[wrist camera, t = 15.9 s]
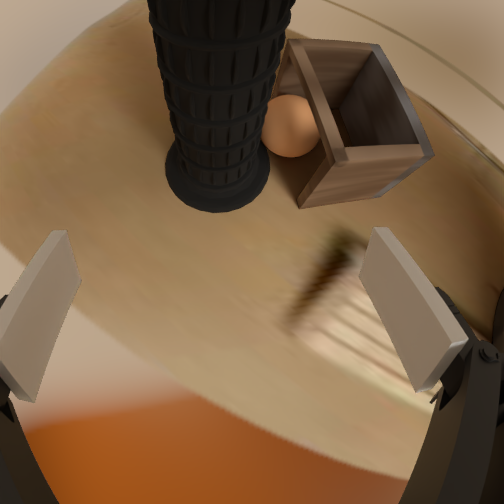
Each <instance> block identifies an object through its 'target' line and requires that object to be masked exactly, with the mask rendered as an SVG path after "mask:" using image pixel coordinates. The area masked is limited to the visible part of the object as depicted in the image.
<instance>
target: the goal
mask: <svg viewBox="0 0 504 504" xmlns="http://www.w3.org/2000/svg"><path fill="white" fill-rule="evenodd" d="M282 95H297V96H300V97H303V98H305V99H307V101H308V104H309V106H310V109H311V112H312V114H313V117H314V120H315V123H316V126H317V128H318V131H319V134H320V137H321V140H322V143H323V146H324V149H325V152H326V155H327V156H326V157H325V158H324V160H323V161H322V163H321V164H320V166H319V167H318V169H317V170H316V172H315V173H314V175H313V176H312V178H311V179H310V180H309V182H308V183H307V185H306V186H305V188H304V189H303V191H302V192H301V194H300V195H299V197H298V198H297V202H298V206H299V209H303V208H310V207H316V206H322V205H329V204H335V203H342V202H349V201H356V200H362V199H369V198H377V197H381V196H382V195H383V194H385V193H386V192H387V191H389V190H390V189H391V188H393V187H394V186H395V185H397V184H398V183H399V182H401V181H402V180H403V179H405V178H406V177H407V176H409V175H410V174H411V173H412V172H414V171H415V170H416V169H418V168H419V167H420V166H422V165H423V164H424V163H426V162H427V161H428V160H429V159H431V158H432V157H433V156H435V154H434V152H433V149H432V147H431V145H430V142H429V140H428V137H427V135H426V133H425V131H424V128H423V126H422V124H421V122H420V120H419V117H418V115H417V113H416V111H415V109H414V107H413V105H412V103H411V101H410V99H409V97H408V95H407V93H406V91H405V89H404V87H403V85H402V83H401V82H400V80H399V78H398V76H397V74H396V73H395V71H394V69H393V68H392V66H391V64H390V62H389V60H388V59H387V57H386V55H385V54H384V52H383V50H382V49H381V47H380V45H378V44H370V43H361V42H350V41H338V40H321V39H288V40H287V44H286V47H285V51H284V55H283V58H282V62H281V66H280V70H279V73H278V77H277V81H276V85H275V88H274V92H273V96H272V99H274V98H276V97H278V96H282ZM330 109H339V111H340V114H341V116H342V119H343V121H344V124H345V126H346V129H347V131H348V134H349V137H350V139H351V142H352V145H353V147H345V148H344V145H343V142H342V139H341V136H340V134H339V131H338V128H337V126H336V123H335V120H334V118H333V115H332V113H331V110H330Z"/></svg>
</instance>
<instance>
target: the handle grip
mask: <svg viewBox="0 0 504 504" xmlns="http://www.w3.org/2000/svg"><path fill="white" fill-rule="evenodd" d="M295 1H296V0H147V3H148V8H149V10H150V12H149V22H150V24H151V26H152V28H153V37H154V43H155V47H156V52H157V63H158V67H159V69H160V73H161V78H162V80H163V86H164V96H165V100H166V102H167V106H168V109H169V110H170V121H171V125H172V128H173V132H174V133H175V141H174V142H173V144H172V146H171V148H170V150H169V151H168V154H167V159H166V163H165V168H166V177H167V180H168V183H169V186H170V188H171V189H172V190H173V192H174V193H175V195H176V196H177V197H178V198H179V199H180V200H182V201H183V202H184V203H185V204H186V205H189V206H191V207H193V208H195V209H198V210H200V211H206V212H211V213H220V212H229V211H232V210H236V209H239V208H241V207H243V206H245V205H247V204H248V203H250V202H252V201H253V200H254V199H255V198H256V197H257V196H258V195H259V194H260V193H261V191H262V189H263V188H264V186H265V184H266V182H267V179H268V176H269V172H270V161H269V156H268V153H267V149H266V147H265V145H264V144H263V142H262V141H261V139H260V137H261V134H262V128H263V125H264V122H265V115H266V114H267V110H268V102H269V100H270V98H271V93H272V87H273V85H274V82H275V78H276V74H275V71H276V69H277V67H278V66H279V64H280V55H281V54H280V51H281V50H282V49H283V47H284V43H285V38H286V36H285V29H286V28H287V26H288V25H289V23H290V19H291V11H290V9H291V7H292V6H293V5H294V3H295Z"/></svg>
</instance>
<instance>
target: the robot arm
mask: <svg viewBox="0 0 504 504" xmlns="http://www.w3.org/2000/svg"><path fill="white" fill-rule="evenodd" d="M359 278H360V280H361V282H362V284H363V286H364V287H365V289H366V291H367V293H368V295H369V297H370V299H371V301H372V303H373V305H374V307H375V309H376V310H377V312H378V314H379V316H380V318H381V320H382V322H383V324H384V326H385V328H386V330H387V332H388V334H389V336H390V339H391V341H392V343H393V345H394V347H395V349H396V351H397V353H398V355H399V357H400V360H401V362H402V364H403V366H404V368H405V370H406V373H407V375H408V377H409V379H410V381H411V384H412V386H413V388H414V390H415V393H418V392H422V391H426V390H429V389H432V388H433V387H434V385H435V384H436V383H437V382H438V380H439V379H440V380H441V382H442V384H443V386H442V387H441V388H440V390H439V391H438V392H437V393H436V394H435V395H434V397H433V398H432V399H431V401H430V403H431V404H432V403H433V402H434V401H435V400H436V399H437V401H436V404H435V408H434V411H433V415H432V418H431V421H430V425H429V428H428V431H427V434H426V437H425V440H424V443H423V445H422V448H421V451H420V454H419V456H418V459H417V462H416V464H415V467H414V469H413V472H412V474H411V477H410V479H409V481H408V484H407V486H406V488H405V491H404V493H403V495H402V497H401V500H400V502H399V504H504V289H503V291H502V294H501V296H500V299H499V302H498V305H497V309H496V314H495V320H494V329H493V344H491V343H489V342H487V341H483V340H482V341H479V340H478V339H477V337H476V336H475V334H474V333H473V331H472V329H471V328H470V326H469V325H468V323H467V322H466V320H465V319H464V317H463V316H462V315H461V314H460V312H459V310H458V309H457V307H456V306H454V305H455V304H454V303H453V302H452V300H451V299H450V297H449V296H448V295H447V294H446V293H445V292H444V291H442V290H441V289H440V288H439V287H434V286H433V285H432V284H431V282H430V281H429V280H428V278H427V277H426V275H425V274H424V273H423V271H422V270H421V269H420V267H419V266H418V265H417V263H416V262H415V261H414V260H413V258H412V257H411V256H410V254H409V253H408V252H407V250H406V249H405V248H404V247H403V245H402V244H401V243H400V242H399V240H398V239H397V238H396V237H395V235H394V234H393V233H392V232H391V231H390V229H389V228H388V227H373V229H372V233H371V236H370V240H369V244H368V247H367V251H366V254H365V258H364V261H363V265H362V268H361V271H360V275H359ZM81 281H82V280H81V277H80V274H79V271H78V268H77V265H76V261H75V258H74V255H73V251H72V248H71V244H70V241H69V237H68V233H67V230H53V231H51V233H50V234H49V236H48V237H47V238H46V240H45V241H44V242H43V244H42V245H41V246H40V248H39V249H38V251H37V252H36V254H35V255H34V256H33V258H32V259H31V261H30V262H29V264H28V265H27V267H26V268H25V270H24V271H23V273H22V274H21V276H20V277H19V279H18V281H17V282H16V284H15V286H14V287H13V289H12V290H11V292H10V294H9V295H5V296H4V297H3V298H2V299H0V504H59V502H58V501H57V499H56V497H55V495H54V494H53V492H52V490H51V488H50V487H49V485H48V483H47V481H46V479H45V477H44V475H43V473H42V472H41V470H40V468H39V466H38V463H37V461H36V459H35V457H34V455H33V453H32V451H31V449H30V446H29V444H28V442H27V440H26V437H25V435H24V433H23V430H22V427H21V425H20V422H19V420H18V417H17V415H16V412H15V409H14V407H13V404H12V402H11V400H10V398H9V397H8V396H9V393H10V391H12V392H13V393H14V394H15V396H16V397H17V398H18V399H20V400H24V401H28V402H32V403H35V400H36V397H37V394H38V391H39V387H40V384H41V381H42V378H43V375H44V372H45V369H46V366H47V364H48V361H49V358H50V355H51V353H52V350H53V347H54V344H55V342H56V339H57V337H58V334H59V332H60V329H61V327H62V324H63V322H64V319H65V317H66V315H67V312H68V310H69V308H70V305H71V303H72V301H73V299H74V296H75V294H76V292H77V290H78V288H79V285H80V283H81Z"/></svg>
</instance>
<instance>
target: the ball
mask: <svg viewBox="0 0 504 504" xmlns="http://www.w3.org/2000/svg"><path fill="white" fill-rule="evenodd" d="M260 138H261V140H262V142H263V143H264V145H265V146H266V147H267V148H268V149H269V150H271V151H272V152H274V153H275V154H277V155H280V156H284V157H298V156H301V155H304V154H306V153H308V152H309V151H311V150H312V149H313V148H314V147H315V146H316V145H317V143H318V142H319V140H320V138H321V137H320V134H319V131H318V128H317V126H316V123H315V120H314V117H313V114H312V112H311V109H310V106H309V104H308V101H307V99H305V98H303V97H300V96H297V95H282V96H278V97H276V98H274V99H272V100H270V101H269V102H268V110H267V114H266V115H265V122H264V125H263V128H262V134H261V137H260Z"/></svg>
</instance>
